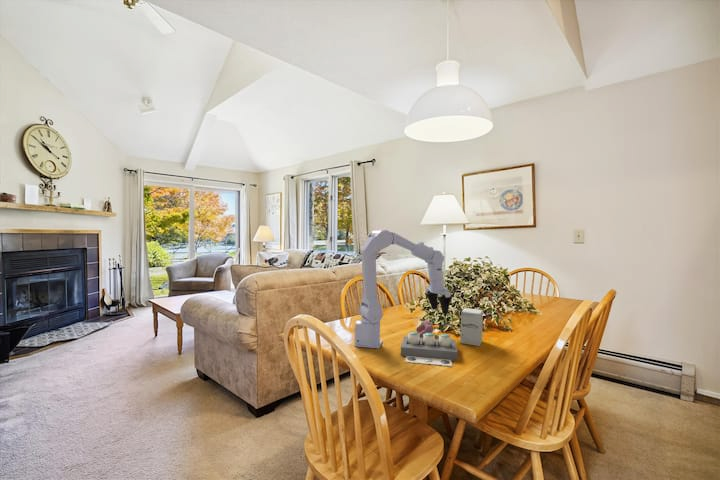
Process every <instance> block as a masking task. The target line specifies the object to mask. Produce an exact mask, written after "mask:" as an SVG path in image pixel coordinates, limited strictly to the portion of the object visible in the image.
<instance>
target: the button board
mask: <svg viewBox="0 0 720 480" xmlns="http://www.w3.org/2000/svg"><path fill="white" fill-rule="evenodd" d="M401 355H403V357H406V356H414V357H425V358H436V359H447V360H451V361H456V362H457V361H458V346H457V342H456V340H455V339H451V348H448V347H439V338H435V346H424V345H423V338H420V337H419V345H412V344H408V336H403V339H402V342H401V346H400V356H401Z"/></svg>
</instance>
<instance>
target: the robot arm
mask: <svg viewBox="0 0 720 480" xmlns="http://www.w3.org/2000/svg"><path fill="white" fill-rule="evenodd" d="M390 245H396V246H399V247H400V248H404V249H406V250H409V251H410V253H411V255H412V256H415V257H416V258H418V259H419V260H422V261H424V262H425V263H427V271H428V279H429V286H426V287H425V290H426V292H427V293H424V294H425V297H426V298H427V300H428V302H429V305H430V306H431V309H432V310H437V309H438V302H439V304H440V306H441V312H442V314H448V313H449V308H450V304H451V301H452V300H453V295H452V294H451V291H449V290H448V288H447V287H445V279H444V269H443V266H444V265H443V263H444V260H445V256H444V255H443V253H442V252H441V251H440V250H434V247H433V246H428V245H426V244H425V242H423V241H417V242H412V241H411V240H409V239H408V238H405V237H403V236H401V235H400V234H398V233H396V232H393V231H390V230H388V229H383V230H379V229H375V230H374V229H373V230H372V231H371V232H370V233H368V234H367V236H366V239H365V242H364V244H363V246H362V248H361V267H362V270H361V271H362V291H363V292H362V295H363V296H362V298H361V299H360V305H359V309H358V313H359V315H360V316H361V319H360V320H356V322H355V326H354V345H353V346H354V347H360V348H368V349H369V348H370V349H380V347H381V345H382V343H383V340H381V320H382V319H383V316H384V313H383V309H382V308H381V302H380V300H379V298H378V283H377V260H376V259H377V256H378V254H379V253H380V251H382V250H383V249H386V248H388V247H389V246H390Z"/></svg>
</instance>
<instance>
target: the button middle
mask: <svg viewBox="0 0 720 480" xmlns="http://www.w3.org/2000/svg"><path fill="white" fill-rule="evenodd" d="M435 339H436V335H435V334H434V333H433V332H432V333H425V334H423V345H424V346H435Z"/></svg>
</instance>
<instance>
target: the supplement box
mask: <svg viewBox="0 0 720 480" xmlns="http://www.w3.org/2000/svg"><path fill="white" fill-rule="evenodd" d="M483 315H484V310H483V309H476V308H467V307H464V308H463V309H462V310H461V311H460V342H459V343H460V344H463V345H464V344H465V345H471V346H477V347H480V346H481V344H482V342H483V341H482V340H483V321H484V320H483V318H484V317H483Z"/></svg>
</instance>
